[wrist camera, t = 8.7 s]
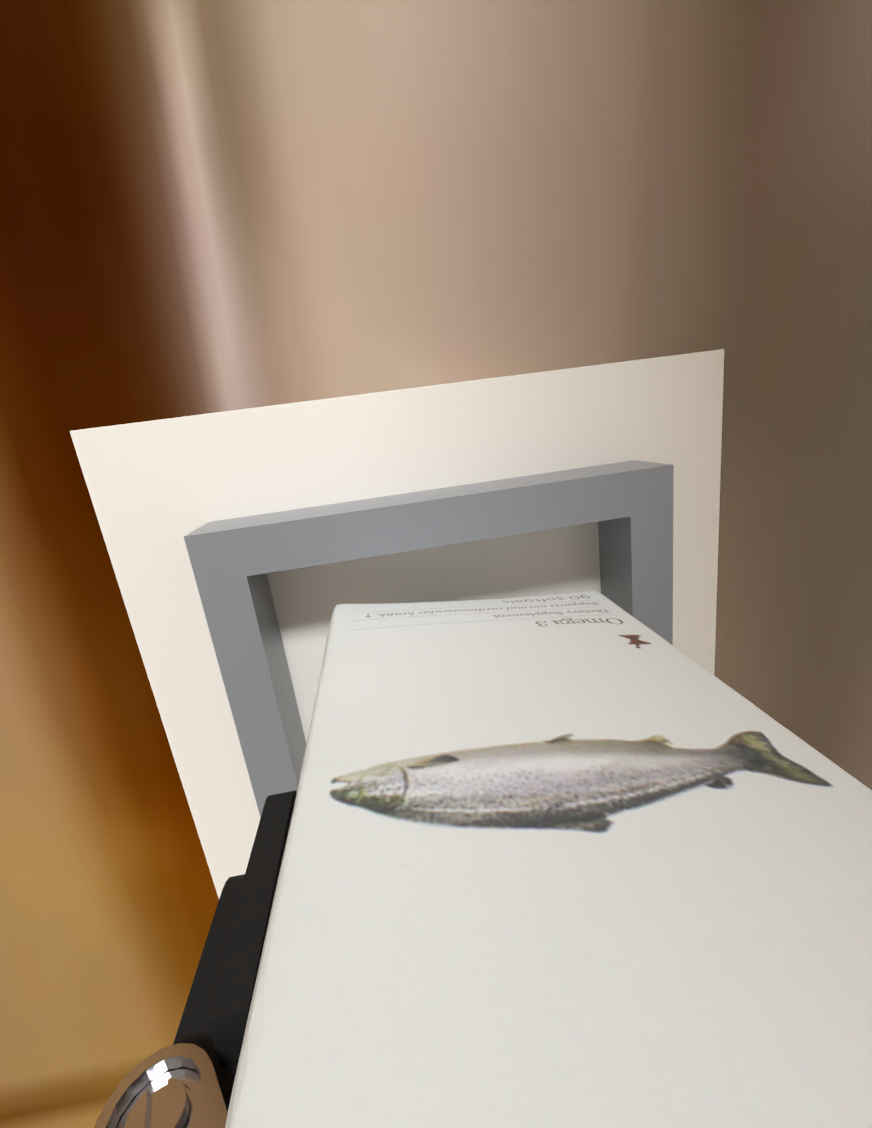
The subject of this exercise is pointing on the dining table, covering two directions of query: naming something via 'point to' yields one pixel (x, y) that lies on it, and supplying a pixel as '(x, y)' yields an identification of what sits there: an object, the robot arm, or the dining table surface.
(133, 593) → the holder board
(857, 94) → the dining table surface
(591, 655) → the supplement box
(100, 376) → the dining table surface
